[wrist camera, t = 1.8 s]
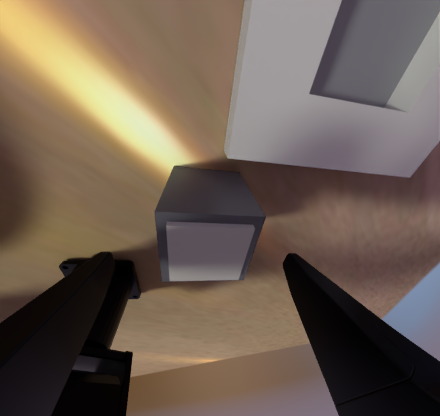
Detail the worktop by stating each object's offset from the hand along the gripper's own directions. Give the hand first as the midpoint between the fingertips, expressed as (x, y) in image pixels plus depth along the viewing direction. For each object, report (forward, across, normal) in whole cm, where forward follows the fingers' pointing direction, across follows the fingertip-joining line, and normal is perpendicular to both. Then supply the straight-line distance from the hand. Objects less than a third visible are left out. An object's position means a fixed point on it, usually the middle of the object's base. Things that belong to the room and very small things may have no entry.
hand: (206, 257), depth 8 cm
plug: (+6, 0, 0) cm, 6 cm away
